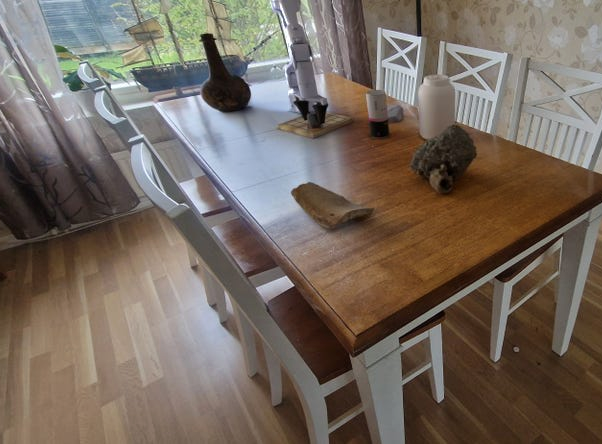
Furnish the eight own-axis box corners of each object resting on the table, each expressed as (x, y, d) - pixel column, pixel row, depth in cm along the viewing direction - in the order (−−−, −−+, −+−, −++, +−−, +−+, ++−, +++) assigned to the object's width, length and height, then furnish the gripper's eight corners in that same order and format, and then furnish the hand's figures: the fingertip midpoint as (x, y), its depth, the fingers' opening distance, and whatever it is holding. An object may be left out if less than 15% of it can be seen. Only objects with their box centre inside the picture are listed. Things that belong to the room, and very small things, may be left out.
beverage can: (366, 136, 131) (361, 93, 123) (378, 131, 136) (373, 88, 128) (382, 140, 129) (377, 96, 120) (393, 134, 134) (389, 91, 125)
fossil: (325, 200, 101) (289, 206, 93) (326, 177, 98) (289, 181, 91) (375, 229, 88) (338, 239, 81) (377, 204, 86) (339, 211, 79)
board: (278, 128, 137) (277, 124, 136) (318, 113, 151) (318, 109, 151) (313, 138, 130) (312, 133, 129) (352, 121, 144) (352, 117, 143)
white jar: (428, 144, 127) (427, 83, 115) (414, 132, 136) (411, 74, 124) (460, 138, 131) (462, 78, 120) (444, 126, 141) (445, 70, 129)
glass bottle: (263, 106, 158) (243, 33, 143) (222, 118, 146) (196, 38, 130) (238, 99, 166) (217, 29, 150) (197, 110, 154) (170, 34, 138)
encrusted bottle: (447, 110, 102) (457, 119, 89) (481, 147, 108) (496, 161, 95) (401, 158, 106) (403, 173, 92) (436, 191, 111) (444, 210, 98)
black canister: (306, 126, 134) (303, 113, 132) (315, 123, 138) (313, 109, 135) (315, 129, 133) (312, 115, 130) (324, 125, 136) (322, 111, 133)
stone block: (400, 126, 145) (405, 113, 152) (398, 115, 141) (403, 102, 148) (370, 126, 146) (376, 113, 153) (368, 115, 142) (374, 102, 149)
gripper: (282, 82, 127) (291, 121, 134) (313, 88, 121) (320, 128, 128) (298, 77, 132) (306, 115, 139) (329, 83, 126) (335, 122, 134)
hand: (314, 121), depth 134 cm, fingers open, 7 cm apart
